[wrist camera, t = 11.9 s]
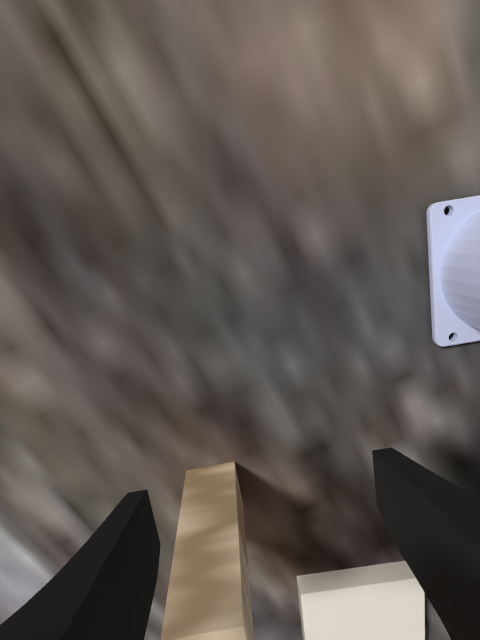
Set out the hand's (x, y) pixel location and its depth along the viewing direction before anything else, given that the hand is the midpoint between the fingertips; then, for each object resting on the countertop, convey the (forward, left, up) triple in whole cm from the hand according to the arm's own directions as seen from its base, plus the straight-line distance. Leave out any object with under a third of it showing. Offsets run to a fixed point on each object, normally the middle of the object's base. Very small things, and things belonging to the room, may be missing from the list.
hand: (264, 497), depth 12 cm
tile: (-5, +15, -10) cm, 19 cm away
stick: (+3, +7, -10) cm, 13 cm away
